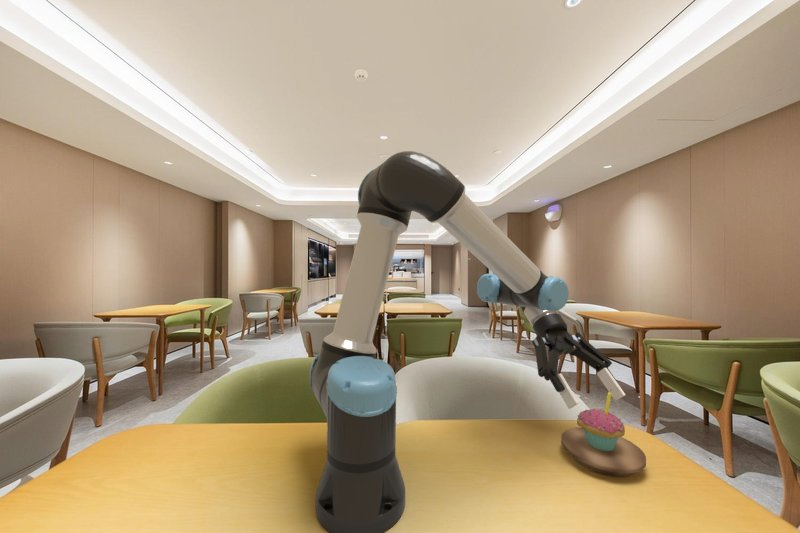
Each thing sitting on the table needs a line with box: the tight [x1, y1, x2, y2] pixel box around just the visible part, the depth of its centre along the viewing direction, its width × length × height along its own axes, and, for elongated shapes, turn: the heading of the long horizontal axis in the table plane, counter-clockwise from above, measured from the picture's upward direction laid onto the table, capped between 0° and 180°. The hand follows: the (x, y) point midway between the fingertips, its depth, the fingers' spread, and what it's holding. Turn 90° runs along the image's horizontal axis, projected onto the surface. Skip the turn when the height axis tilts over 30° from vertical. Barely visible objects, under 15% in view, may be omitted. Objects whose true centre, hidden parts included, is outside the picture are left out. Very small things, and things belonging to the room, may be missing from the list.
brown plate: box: [560, 427, 647, 478], centre depth 67 cm, size 15×15×3 cm
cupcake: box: [576, 389, 626, 451], centre depth 67 cm, size 9×8×12 cm
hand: (597, 401), depth 68 cm, fingers open, 13 cm apart
